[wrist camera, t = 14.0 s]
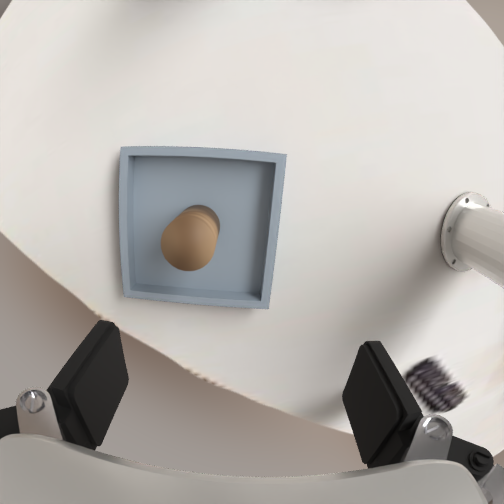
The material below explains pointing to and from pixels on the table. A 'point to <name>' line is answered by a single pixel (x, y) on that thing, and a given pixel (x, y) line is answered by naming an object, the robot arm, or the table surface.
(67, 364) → the robot arm
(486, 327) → the table surface
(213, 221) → the brown rounded cylinder
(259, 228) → the tray
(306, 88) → the table surface
